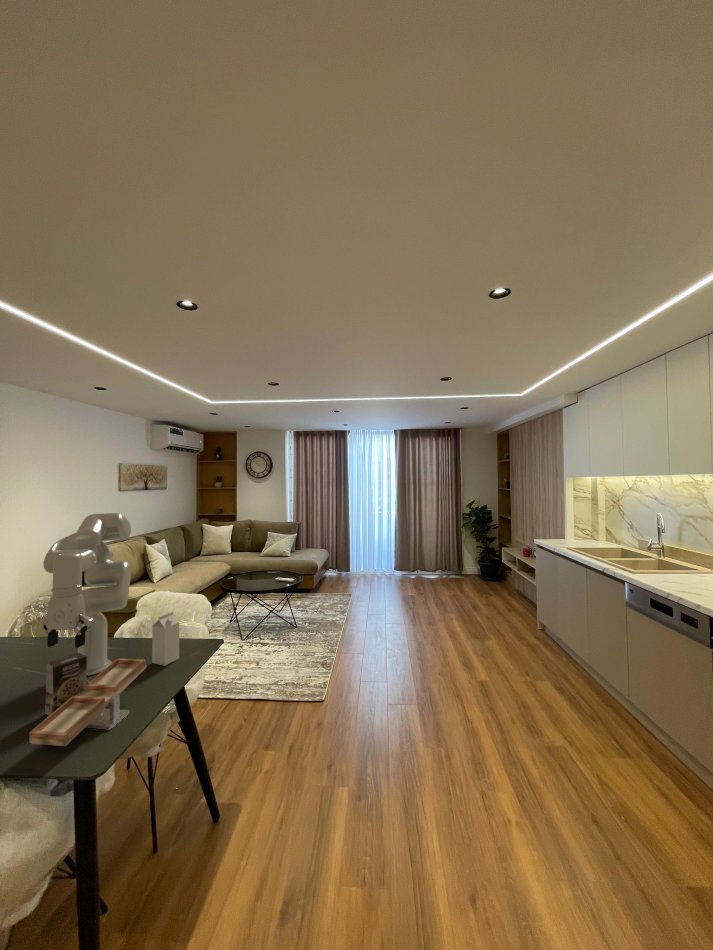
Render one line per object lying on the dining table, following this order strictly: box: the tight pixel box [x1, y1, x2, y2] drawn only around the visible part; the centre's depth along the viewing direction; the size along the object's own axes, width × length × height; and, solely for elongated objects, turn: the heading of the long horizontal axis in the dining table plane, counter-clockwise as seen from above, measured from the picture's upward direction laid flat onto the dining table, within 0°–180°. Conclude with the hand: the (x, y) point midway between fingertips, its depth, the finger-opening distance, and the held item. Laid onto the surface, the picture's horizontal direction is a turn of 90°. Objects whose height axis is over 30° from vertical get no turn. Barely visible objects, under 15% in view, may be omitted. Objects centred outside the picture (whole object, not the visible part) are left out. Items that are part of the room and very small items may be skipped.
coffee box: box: [44, 652, 87, 717], centre depth 120 cm, size 9×6×16 cm
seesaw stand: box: [75, 693, 130, 731], centre depth 115 cm, size 16×8×7 cm, turn 83°
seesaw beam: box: [28, 657, 147, 747], centre depth 114 cm, size 11×32×4 cm, turn 173°
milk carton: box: [151, 611, 180, 667], centre depth 154 cm, size 7×7×19 cm
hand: (66, 645), depth 120 cm, fingers open, 9 cm apart
